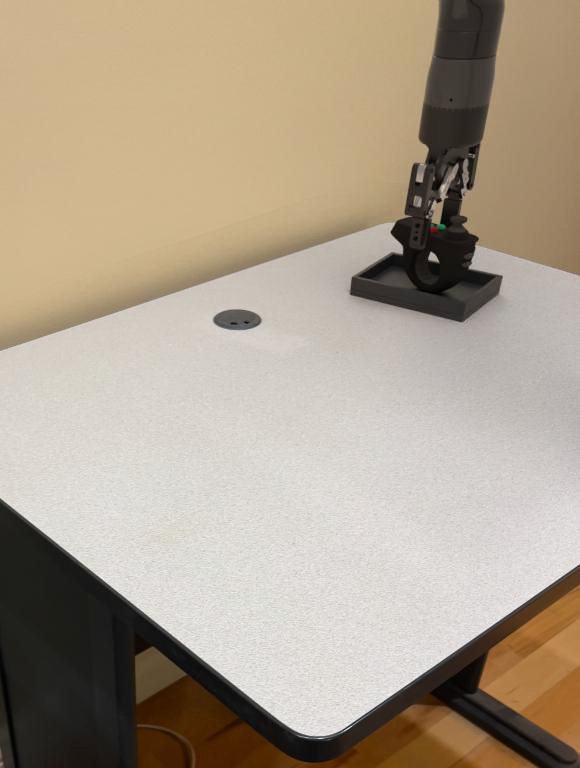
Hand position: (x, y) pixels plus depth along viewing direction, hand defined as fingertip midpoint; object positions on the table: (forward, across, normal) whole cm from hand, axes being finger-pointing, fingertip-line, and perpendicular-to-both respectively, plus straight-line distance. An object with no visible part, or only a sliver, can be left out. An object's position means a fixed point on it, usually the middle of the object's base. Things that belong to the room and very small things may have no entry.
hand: (433, 238), depth 116 cm
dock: (+7, 0, 0) cm, 7 cm away
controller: (+7, 0, 0) cm, 7 cm away
